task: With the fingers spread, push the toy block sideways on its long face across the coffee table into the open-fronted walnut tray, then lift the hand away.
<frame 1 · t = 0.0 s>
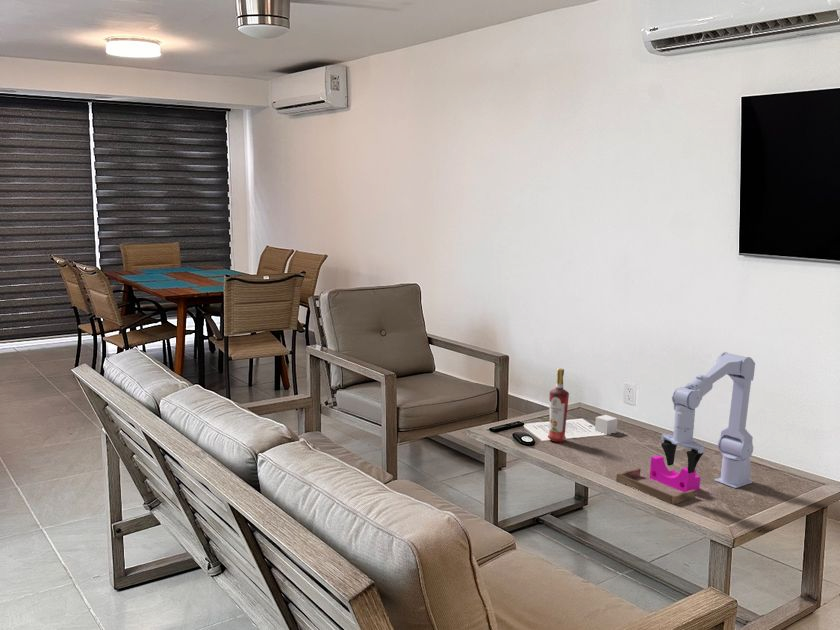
hand: (680, 468, 237), 10 cm above the table, tool pointing down, fingers open, 7 cm apart
liquor: (556, 440, 294), on the table
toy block: (673, 484, 252), on the table
tray: (654, 489, 247), on the table
white cube: (605, 432, 306), on the table
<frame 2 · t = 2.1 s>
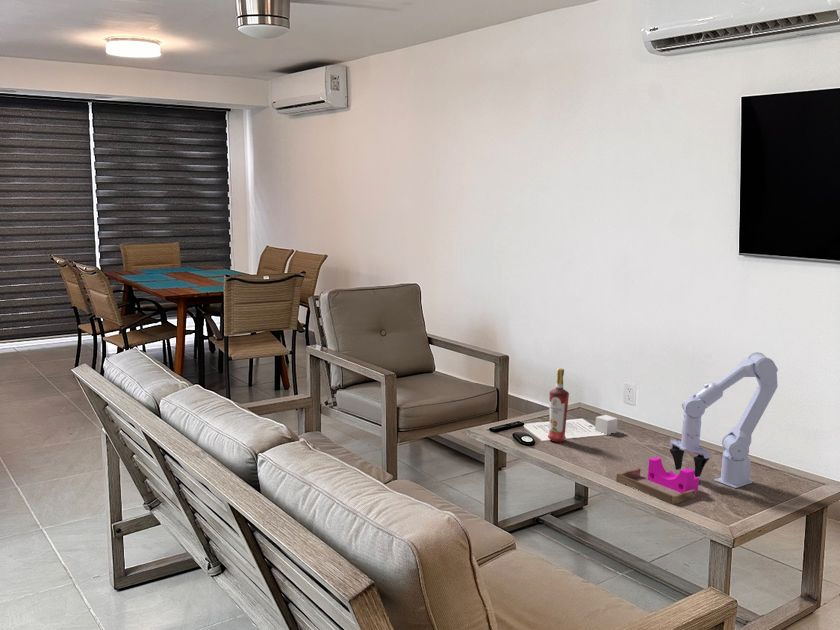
hand: (687, 472, 256), 2 cm above the table, tool pointing down, fingers open, 7 cm apart
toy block: (672, 486, 251), on the table
everything else where it was.
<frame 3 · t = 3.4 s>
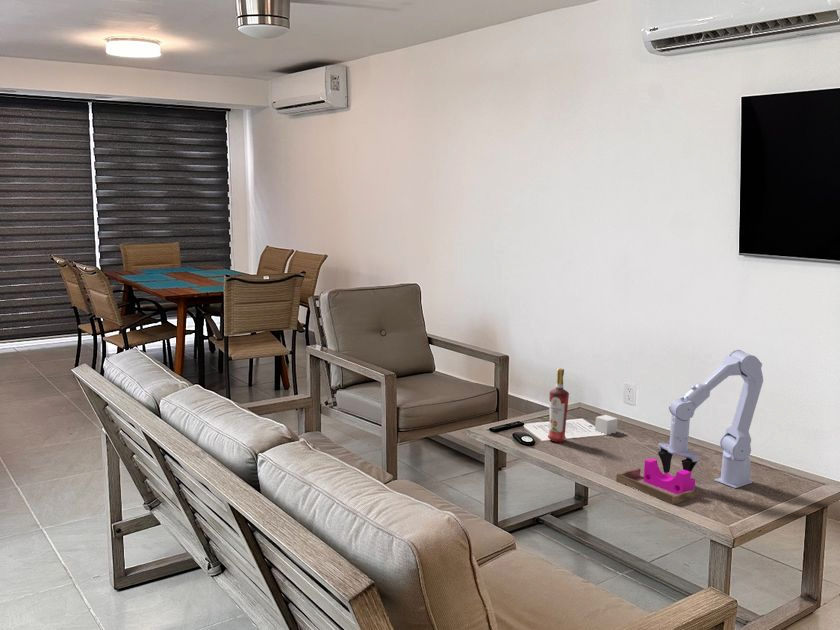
hand: (676, 475, 252), 2 cm above the table, tool pointing down, fingers open, 7 cm apart
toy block: (668, 487, 249), on the table
everything else where it was.
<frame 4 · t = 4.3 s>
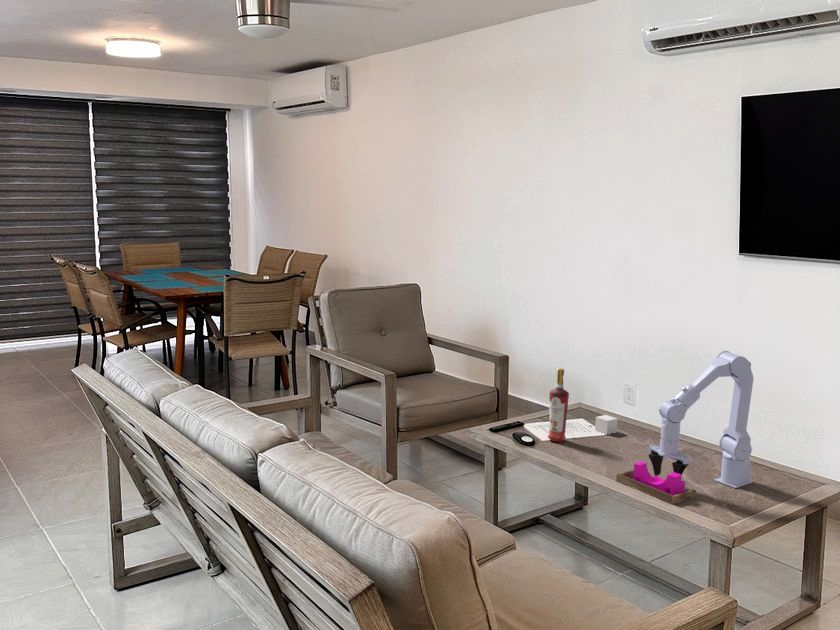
hand: (666, 478, 250), 2 cm above the table, tool pointing down, fingers open, 7 cm apart
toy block: (658, 490, 247), resting in tray
everything else where it was.
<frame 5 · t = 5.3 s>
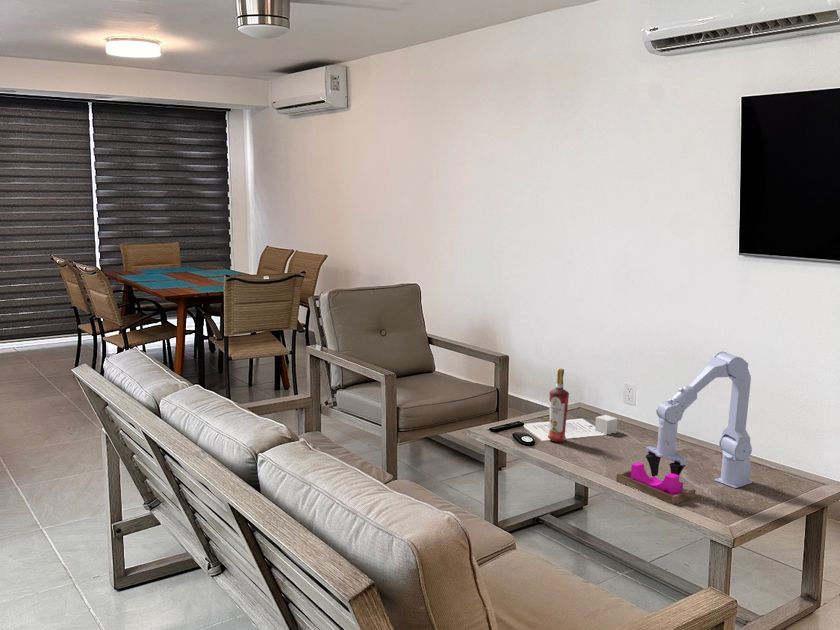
hand: (664, 479, 249), 2 cm above the table, tool pointing down, fingers open, 7 cm apart
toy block: (655, 492, 246), resting in tray
everything else where it was.
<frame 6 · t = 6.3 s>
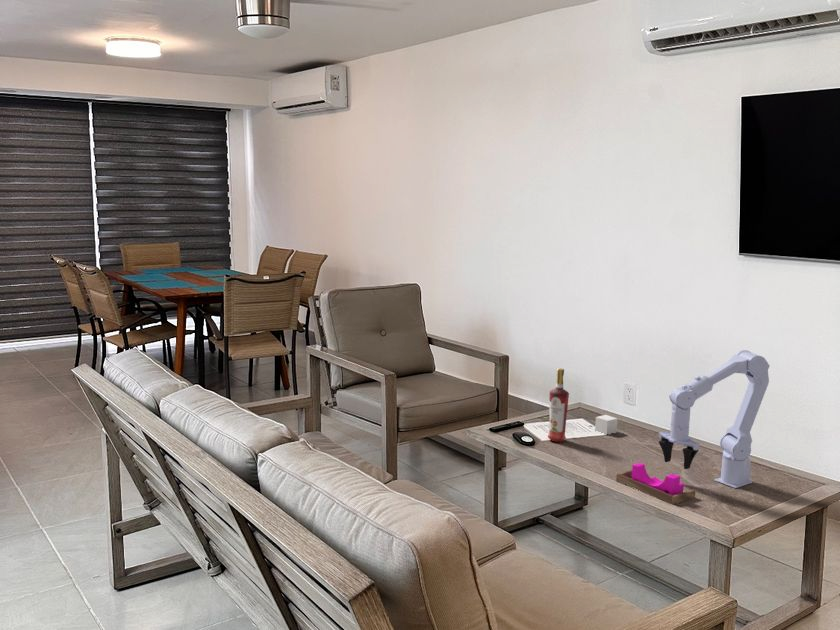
hand: (677, 464, 252), 6 cm above the table, tool pointing down, fingers open, 7 cm apart
nothing on the table moved.
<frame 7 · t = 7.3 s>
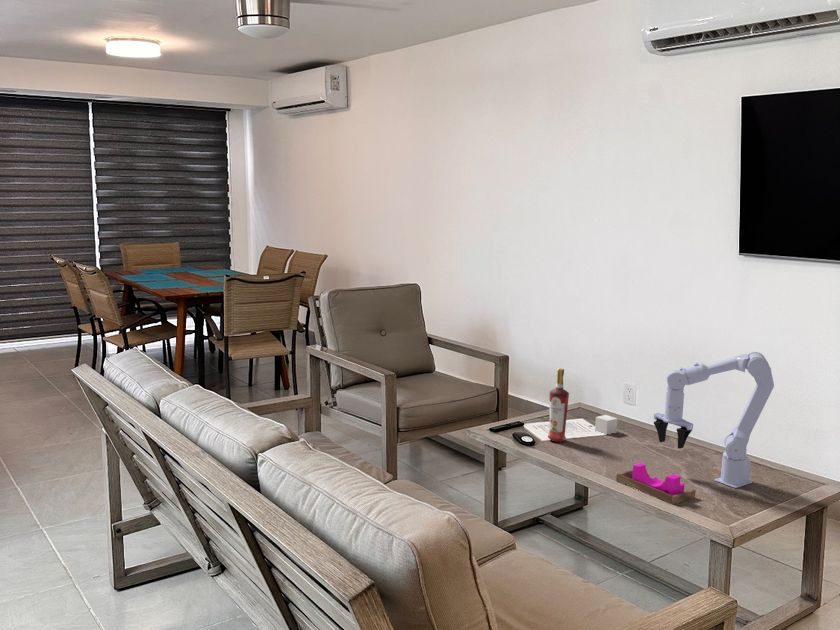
hand: (671, 444, 259), 10 cm above the table, tool pointing down, fingers open, 7 cm apart
nothing on the table moved.
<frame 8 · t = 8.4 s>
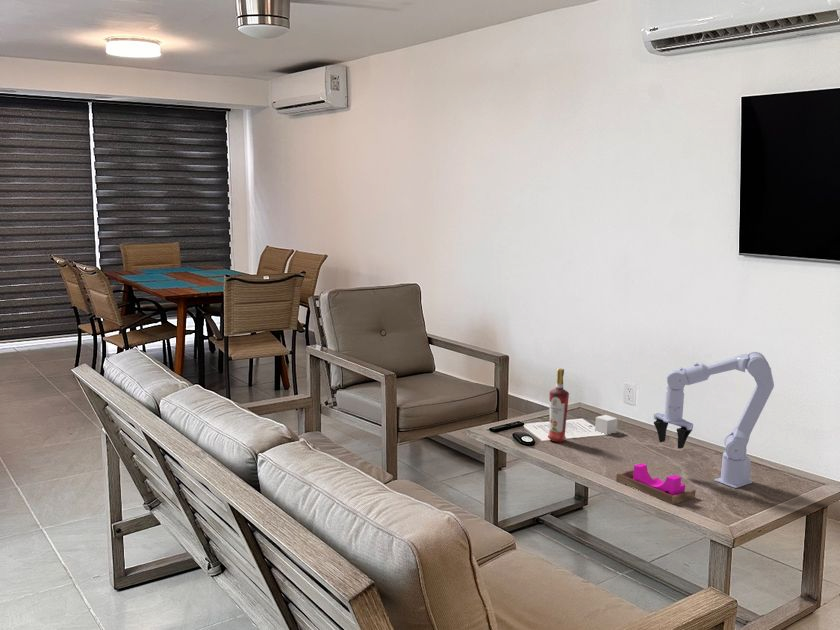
hand: (671, 444, 259), 10 cm above the table, tool pointing down, fingers open, 7 cm apart
at the end: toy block inside the target area on the tray (2.4 cm from its centre), point 0.0 cm above the tray's base; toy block tilted 0°; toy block moved 11.2 cm from its start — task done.
